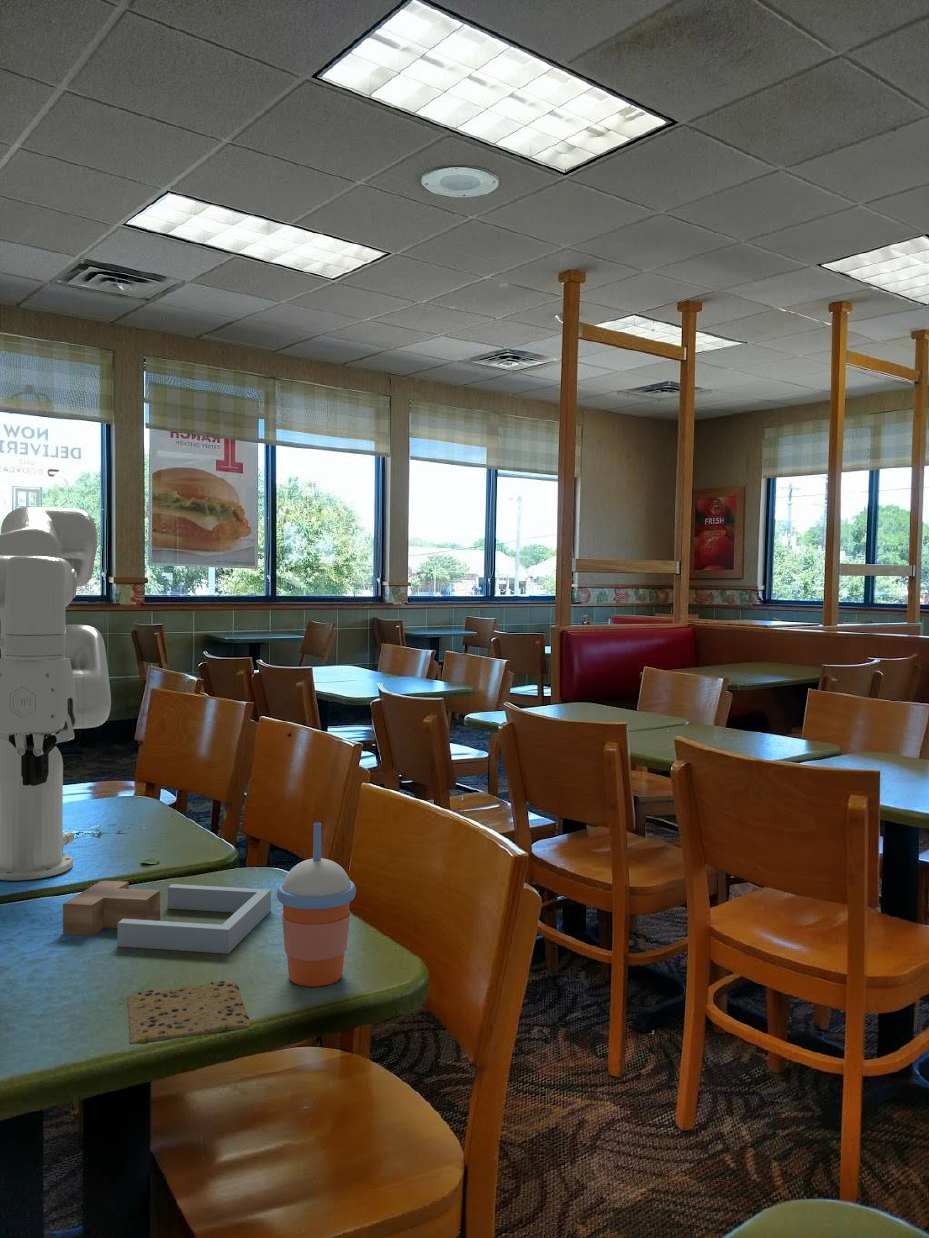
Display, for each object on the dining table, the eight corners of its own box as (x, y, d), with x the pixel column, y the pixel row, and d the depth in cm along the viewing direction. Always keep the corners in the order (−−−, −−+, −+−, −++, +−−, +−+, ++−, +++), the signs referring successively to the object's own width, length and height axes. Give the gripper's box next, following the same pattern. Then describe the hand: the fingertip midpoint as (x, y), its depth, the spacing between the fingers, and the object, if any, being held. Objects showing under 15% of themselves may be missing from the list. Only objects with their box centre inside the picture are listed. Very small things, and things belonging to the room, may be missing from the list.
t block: (101, 908, 134) (101, 880, 134) (169, 912, 133) (169, 883, 132) (63, 934, 124) (62, 903, 124) (136, 938, 123) (135, 907, 123)
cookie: (125, 999, 105) (125, 990, 105) (237, 985, 110) (237, 977, 110) (127, 1049, 94) (127, 1039, 94) (252, 1031, 98) (252, 1022, 98)
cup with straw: (349, 994, 107) (350, 834, 106) (268, 991, 107) (269, 832, 106) (359, 962, 116) (361, 815, 115) (284, 960, 116) (286, 813, 116)
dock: (172, 904, 136) (172, 883, 136) (270, 910, 134) (271, 889, 134) (117, 946, 120) (117, 922, 120) (228, 953, 118) (228, 929, 118)
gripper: (-35, 648, 126) (-35, 787, 126) (72, 650, 124) (72, 791, 124) (0, 645, 133) (0, 776, 134) (101, 647, 131) (101, 780, 132)
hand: (34, 783), depth 129 cm, fingers closed
